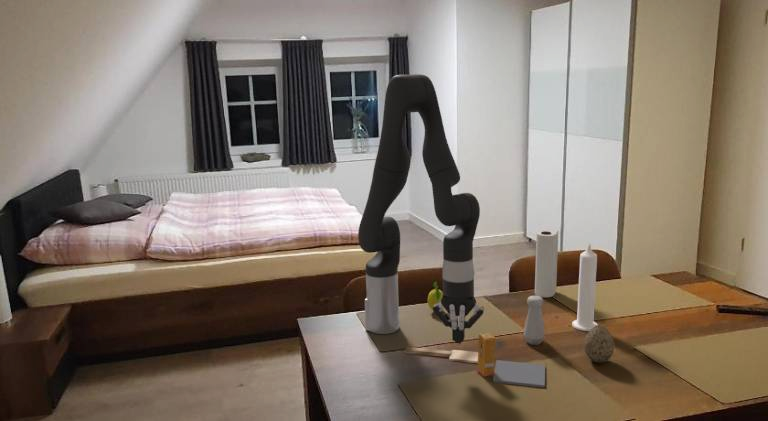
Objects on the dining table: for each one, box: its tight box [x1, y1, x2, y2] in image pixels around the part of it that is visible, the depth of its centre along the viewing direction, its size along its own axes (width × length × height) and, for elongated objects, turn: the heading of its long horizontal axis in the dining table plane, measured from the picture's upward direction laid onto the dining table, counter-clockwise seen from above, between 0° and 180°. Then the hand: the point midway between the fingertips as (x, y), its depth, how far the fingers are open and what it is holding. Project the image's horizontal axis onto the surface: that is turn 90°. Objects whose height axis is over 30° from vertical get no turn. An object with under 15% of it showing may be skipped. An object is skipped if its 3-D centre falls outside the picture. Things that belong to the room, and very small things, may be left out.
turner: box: [405, 346, 478, 364], centre depth 153 cm, size 20×5×1 cm, turn 74°
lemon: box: [427, 281, 445, 311], centre depth 180 cm, size 7×6×10 cm
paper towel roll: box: [534, 230, 559, 298], centre depth 190 cm, size 7×6×21 cm
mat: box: [492, 359, 546, 388], centre depth 142 cm, size 12×10×1 cm
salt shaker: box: [523, 295, 546, 346], centre depth 158 cm, size 6×6×13 cm
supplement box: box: [477, 332, 496, 378], centre depth 142 cm, size 3×3×10 cm
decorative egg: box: [583, 324, 615, 364], centre depth 146 cm, size 7×7×10 cm
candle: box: [571, 243, 599, 332], centre depth 165 cm, size 7×7×25 cm
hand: (458, 342), depth 143 cm, fingers closed
